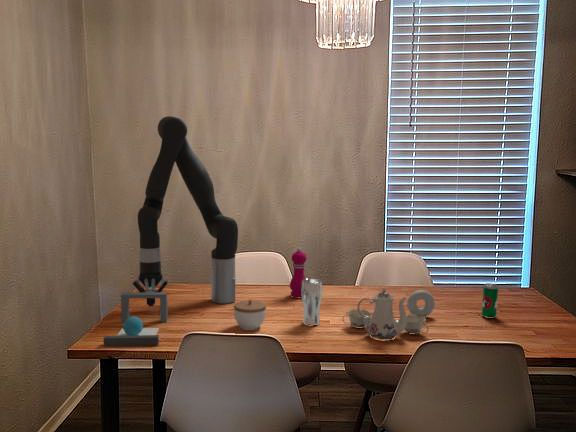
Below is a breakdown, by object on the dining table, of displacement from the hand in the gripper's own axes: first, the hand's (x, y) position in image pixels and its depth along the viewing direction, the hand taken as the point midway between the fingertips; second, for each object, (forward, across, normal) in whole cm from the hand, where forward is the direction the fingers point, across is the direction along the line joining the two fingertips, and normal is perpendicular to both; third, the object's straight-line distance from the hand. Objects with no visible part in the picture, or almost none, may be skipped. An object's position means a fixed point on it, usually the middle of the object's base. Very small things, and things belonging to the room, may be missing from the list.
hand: (151, 305), depth 201 cm
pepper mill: (+2, +56, +16) cm, 58 cm away
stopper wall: (+2, 0, -36) cm, 36 cm away
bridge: (+2, 0, -13) cm, 13 cm away
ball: (-2, -1, -27) cm, 27 cm away
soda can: (+2, +122, -14) cm, 123 cm away
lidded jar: (+2, +36, -21) cm, 42 cm away
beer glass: (+2, +57, -18) cm, 60 cm away
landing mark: (+2, 0, -27) cm, 27 cm away
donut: (+2, +97, -13) cm, 98 cm away
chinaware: (+2, +79, -30) cm, 85 cm away
